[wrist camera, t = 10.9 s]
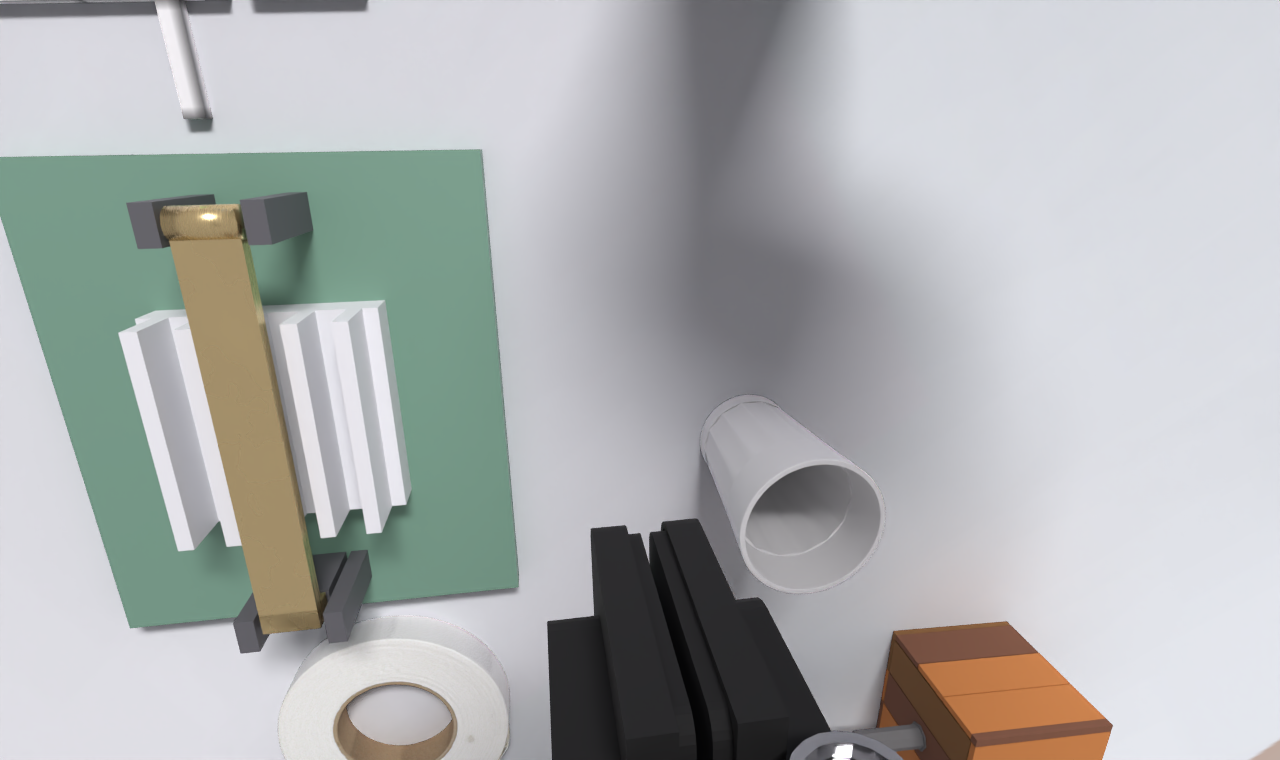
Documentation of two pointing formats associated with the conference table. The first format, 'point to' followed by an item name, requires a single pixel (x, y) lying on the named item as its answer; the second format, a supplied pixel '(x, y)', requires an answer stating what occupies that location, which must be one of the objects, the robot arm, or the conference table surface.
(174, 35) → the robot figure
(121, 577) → the motherboard
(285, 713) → the roll of tape
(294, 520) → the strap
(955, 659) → the clamp
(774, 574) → the cup
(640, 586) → the robot arm
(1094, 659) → the conference table surface
